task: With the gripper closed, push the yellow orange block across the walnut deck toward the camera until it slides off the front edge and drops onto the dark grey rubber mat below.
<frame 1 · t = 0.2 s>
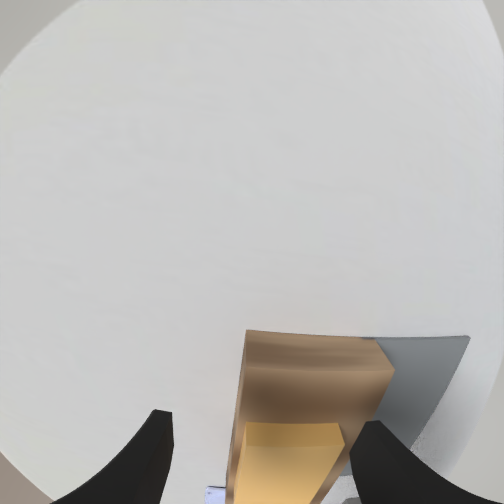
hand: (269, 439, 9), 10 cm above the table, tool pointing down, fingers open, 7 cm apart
dice cube: (356, 502, 28), on the table
deck: (288, 424, 22), on the table
yellow orange block: (280, 461, 18), point 4 cm above the table, touching deck
mat: (384, 419, 22), on the table
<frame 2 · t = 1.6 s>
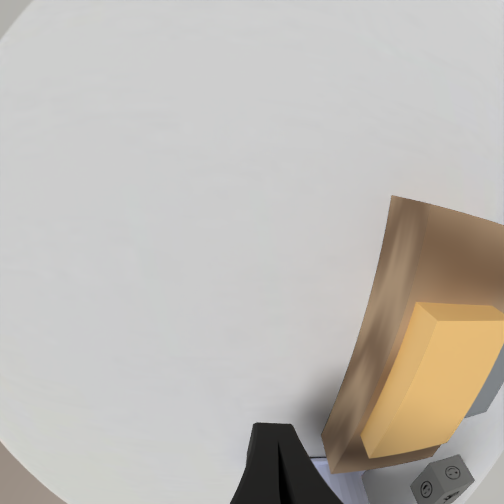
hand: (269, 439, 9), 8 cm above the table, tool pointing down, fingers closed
dice cube: (434, 469, 24), on the table
deck: (414, 341, 18), on the table
yellow orange block: (429, 376, 14), point 4 cm above the table, touching deck
mat: (492, 338, 18), on the table
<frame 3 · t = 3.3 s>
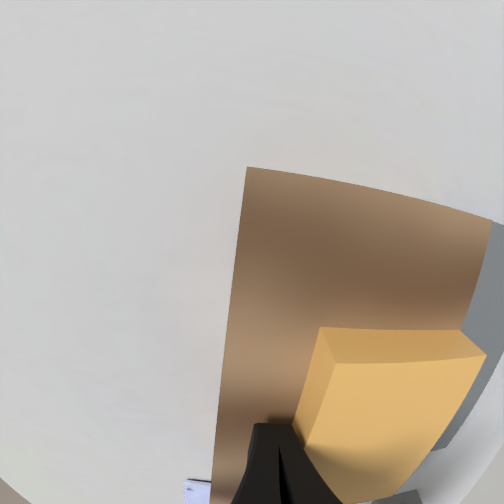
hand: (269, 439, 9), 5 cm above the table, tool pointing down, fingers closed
dice cube: (385, 503, 20), on the table
deck: (312, 368, 14), on the table
yellow orange block: (361, 421, 10), point 4 cm above the table, touching gripper
mat: (446, 364, 15), on the table
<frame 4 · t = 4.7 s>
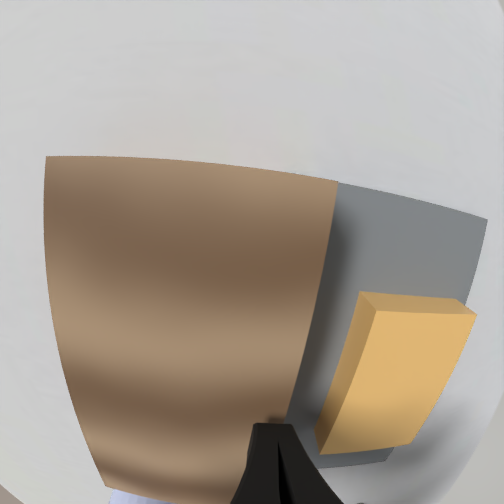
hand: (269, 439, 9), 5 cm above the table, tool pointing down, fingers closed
deck: (184, 355, 14), on the table
yellow orange block: (399, 394, 12), point 2 cm above the table, tilted 180°, touching mat
mat: (358, 368, 14), on the table
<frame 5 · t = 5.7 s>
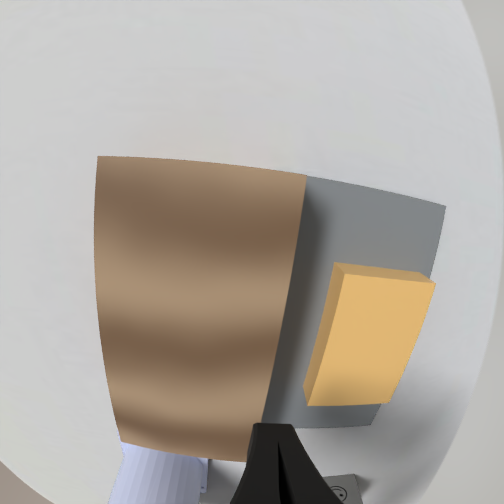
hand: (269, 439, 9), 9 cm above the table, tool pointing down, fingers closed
dice cube: (324, 485, 24), on the table
deck: (194, 316, 18), on the table
yellow orange block: (372, 350, 16), point 2 cm above the table, tilted 180°, touching mat
mat: (338, 330, 18), on the table
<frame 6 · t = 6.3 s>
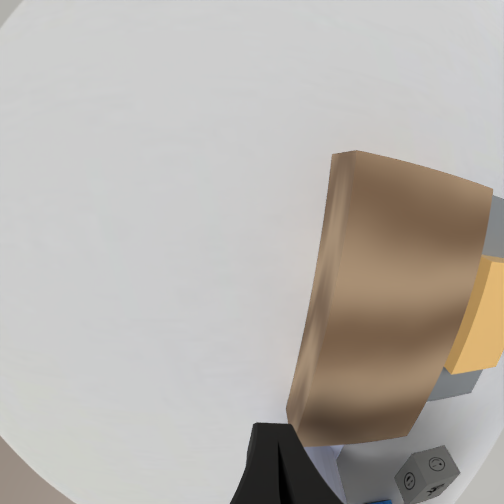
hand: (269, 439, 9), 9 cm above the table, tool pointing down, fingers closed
dice cube: (418, 460, 25), on the table
deck: (374, 307, 18), on the table
yellow orange block: (496, 321, 17), point 2 cm above the table, tilted 180°, touching mat
mat: (467, 309, 19), on the table
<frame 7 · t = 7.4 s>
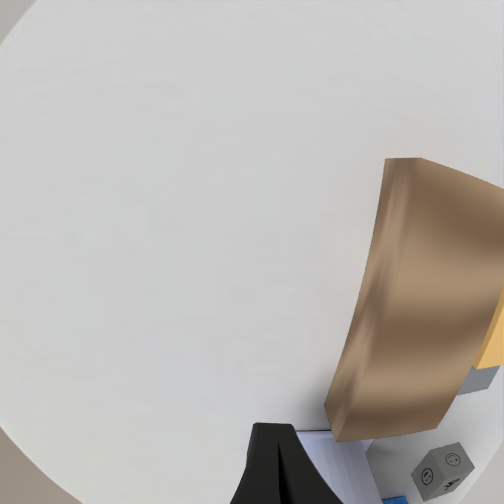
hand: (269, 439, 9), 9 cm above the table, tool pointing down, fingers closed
dice cube: (434, 457, 25), on the table
deck: (413, 305, 18), on the table
mat: (490, 308, 19), on the table
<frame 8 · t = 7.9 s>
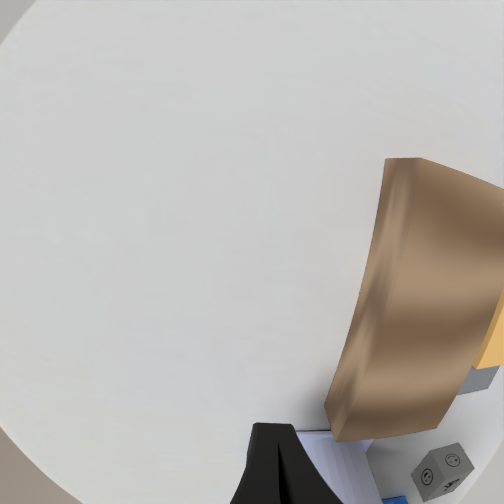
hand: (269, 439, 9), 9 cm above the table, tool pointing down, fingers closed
dice cube: (434, 457, 25), on the table
deck: (413, 305, 18), on the table
mat: (490, 308, 19), on the table
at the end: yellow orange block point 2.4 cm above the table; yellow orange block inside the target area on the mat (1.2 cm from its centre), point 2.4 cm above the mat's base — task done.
